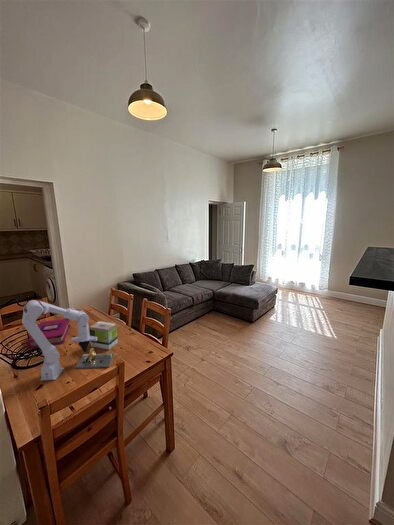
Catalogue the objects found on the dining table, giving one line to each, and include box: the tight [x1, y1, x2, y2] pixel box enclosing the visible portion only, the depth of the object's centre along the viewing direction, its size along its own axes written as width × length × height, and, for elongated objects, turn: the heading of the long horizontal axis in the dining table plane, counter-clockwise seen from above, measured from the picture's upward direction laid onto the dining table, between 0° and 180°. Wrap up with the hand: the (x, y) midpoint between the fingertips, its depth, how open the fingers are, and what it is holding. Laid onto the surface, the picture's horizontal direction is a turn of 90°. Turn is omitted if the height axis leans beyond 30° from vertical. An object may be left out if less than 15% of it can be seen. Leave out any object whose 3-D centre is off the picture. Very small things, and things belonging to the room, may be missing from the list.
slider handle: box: [87, 347, 97, 362], centre depth 133 cm, size 6×3×5 cm, turn 5°
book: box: [26, 318, 71, 350], centre depth 160 cm, size 21×28×8 cm
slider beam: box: [81, 352, 113, 362], centre depth 133 cm, size 5×17×2 cm, turn 95°
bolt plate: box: [75, 353, 115, 369], centre depth 133 cm, size 11×19×1 cm, turn 95°
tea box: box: [88, 320, 119, 350], centre depth 150 cm, size 15×10×15 cm, turn 74°
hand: (85, 351), depth 134 cm, fingers closed
